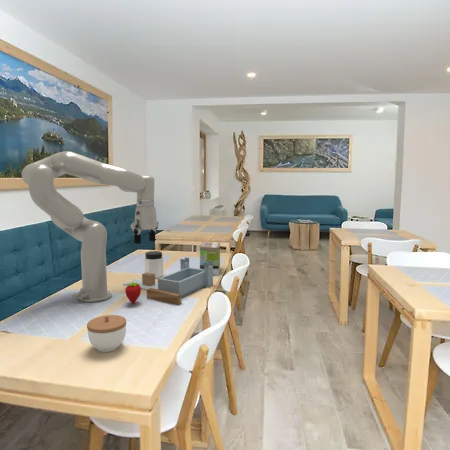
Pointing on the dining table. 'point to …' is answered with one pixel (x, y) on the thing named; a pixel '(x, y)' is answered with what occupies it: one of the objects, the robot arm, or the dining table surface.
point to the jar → (154, 263)
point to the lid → (146, 281)
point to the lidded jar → (106, 332)
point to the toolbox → (187, 279)
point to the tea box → (210, 255)
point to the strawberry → (133, 292)
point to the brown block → (164, 296)
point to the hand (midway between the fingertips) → (145, 242)
